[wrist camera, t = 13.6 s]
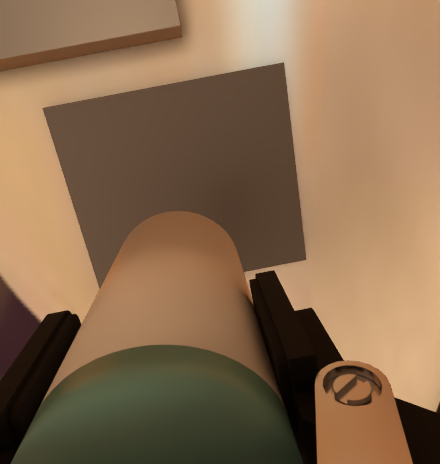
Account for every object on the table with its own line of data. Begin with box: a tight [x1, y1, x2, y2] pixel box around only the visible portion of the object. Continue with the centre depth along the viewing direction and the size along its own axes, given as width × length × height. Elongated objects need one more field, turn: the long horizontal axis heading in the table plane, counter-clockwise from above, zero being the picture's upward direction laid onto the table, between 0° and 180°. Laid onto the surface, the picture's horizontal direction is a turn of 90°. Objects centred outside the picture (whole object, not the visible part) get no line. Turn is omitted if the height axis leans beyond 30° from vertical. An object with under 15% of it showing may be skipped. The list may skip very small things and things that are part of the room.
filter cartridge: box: [11, 211, 303, 464], centre depth 11 cm, size 5×5×10 cm
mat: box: [43, 63, 306, 288], centre depth 30 cm, size 18×16×1 cm
